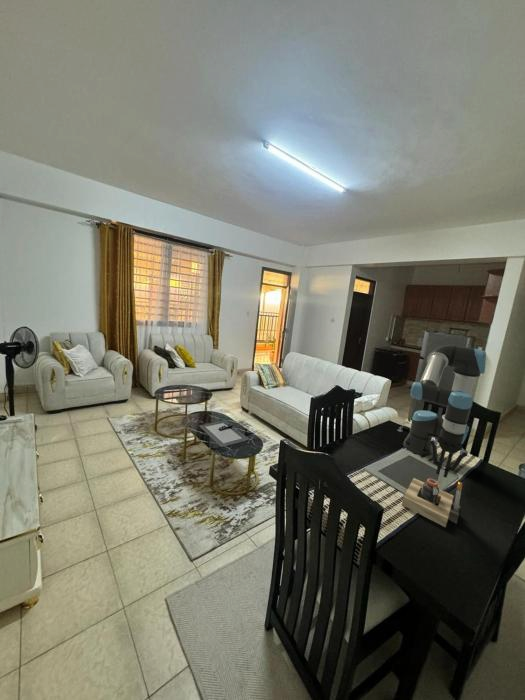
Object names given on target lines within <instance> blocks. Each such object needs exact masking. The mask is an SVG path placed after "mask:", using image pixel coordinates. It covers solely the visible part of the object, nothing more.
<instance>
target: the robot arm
mask: <svg viewBox="0 0 525 700" xmlns="http://www.w3.org/2000/svg"><path fill="white" fill-rule="evenodd" d="M486 361H487V353H486V351H484V350H482V349H478V348H475V347H474V348H473V347H465V346H460V345H459V346H458V345H452V344H446V345H441V346H438V347H436V348H435V349H433V350H432V351H431V352H429V354H428V355H427V358H426V363H427V364H426V366H425V369H424V371H423V373H422V375H421V378H420V379H419V380H420V381H414V382H413V383H412V385H411V389H410V397H411V398H413V399H415V400H418V401H422V402H426V403H430V404H434V405H438V406H441V407H445V408H446V410H445V414H442V416H441V417H439V416H438V414H437V413H435V412H433V411H429V410H416V411H415V412H413V415H412V418H411V419H412V420H411V425H410V429H409V433H408V434H407V436H406V438H405V439H404V441H403V447H404V448H405V449H406V450H408V451H410V452H411V453H414V454H417V455H419V456H426V457H427V456H431V455H432V461H433V462H432V464H433V465H435V466H437V469H436V475H438V478H437V480H436V481H437V483H438V485H442V484H443V480H444V478H447V477H448V475H449V472H453V473H454V472H455V471H456V469H457V468H458V466H459V465H460V463H461V461H462V460H463V459H464V458H466V457H467V456H468V453H469V452H468V451H467V450H465V449H464V448H463V444H464V442H465V440H466V438H467V436H468V434H469V433H468V432H469V431H470V427H469V426H468V420H469V416H470V415H471V410H472V407H473V401H474V397H473V396H472V392H473V388H474V385H475V380H476V379H477V378H480V375H482V374H485V371H486V364H487V363H486ZM446 367H447V368H448V367H449V368H452V372H453V373H454V379H453V383H452V387H451V389H449V388H443V387H439V385H440V382H441V379H442V376H443V372H444V370H445V368H446ZM433 438H435V439H433ZM437 446H439V447H440V449H441V453H440V456H439V458H438V447H437ZM446 452H447V453H448V456H447V460H446V465H445V466H443V463H444V459H445V456H446ZM457 452H459V455H458V457H457V458H456V460H455V461H454V462H453V464H452V466H451V463H452V460H453V455H454V454H456V453H457ZM438 459H439V460H438Z"/></svg>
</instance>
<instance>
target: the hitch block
mask: <svg viewBox="0 0 525 700" xmlns="http://www.w3.org/2000/svg"><path fill="white" fill-rule="evenodd" d="M424 483H425V481H422V480H419V479H418V478H417V479H416V478H415V477H413V479H412V480H411V482H410V484H409V486H408V488H407V490H406V492H405V493H404V495H403V496H402V497H403V499H402V503H401V505H402V506H403V507H404V508H407V509H408V510H411V511H412V510H413V512H414V511H415V512H414V513H416V512H417V513H416V514H418V513H419V514H418V515H421V516H423V517H424V518H427V519H428V520H430V521H432V522H434V523H436V524H438V525H440V526H442V527H444V528H447V524H448V521H450V522H452V523H454V524H458V520H459V516H460V510H461V505H459V507H458V513H457V512H455V511H453V509H454V503H455V502H453V500H454V497H455V495H453V494H451V493H448V492H447V491H444V490H441V489H439V493H438V497H437V501H436V504H437V505H435V504H432V503H430V502H428V501H426V500H424V499H422V498H420V495H421V492H422V487H423V484H424Z"/></svg>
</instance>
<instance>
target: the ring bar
mask: <svg viewBox="0 0 525 700" xmlns="http://www.w3.org/2000/svg"><path fill="white" fill-rule="evenodd" d="M462 489H463V481H462V482H461V481H459V480H458V481H457V485H456V491H455V496H454V497H455V498H454V502H453V503H454V509H453V511H455V512H457V513H458V507H459V506H460V500H461V494H462Z"/></svg>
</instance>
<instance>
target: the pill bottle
mask: <svg viewBox="0 0 525 700" xmlns="http://www.w3.org/2000/svg"><path fill="white" fill-rule="evenodd" d="M437 481H438V480H436V479H433V478H427V479H426V481H424V484H423V487H422V492H421V496H420V495H419V497H420V498H422V499H424V500H426V501H428V502H430V503H432V504H435V505H436V504H437V503H436V501H437V497H438V493H439V487H438V485H439V483H437Z"/></svg>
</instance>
